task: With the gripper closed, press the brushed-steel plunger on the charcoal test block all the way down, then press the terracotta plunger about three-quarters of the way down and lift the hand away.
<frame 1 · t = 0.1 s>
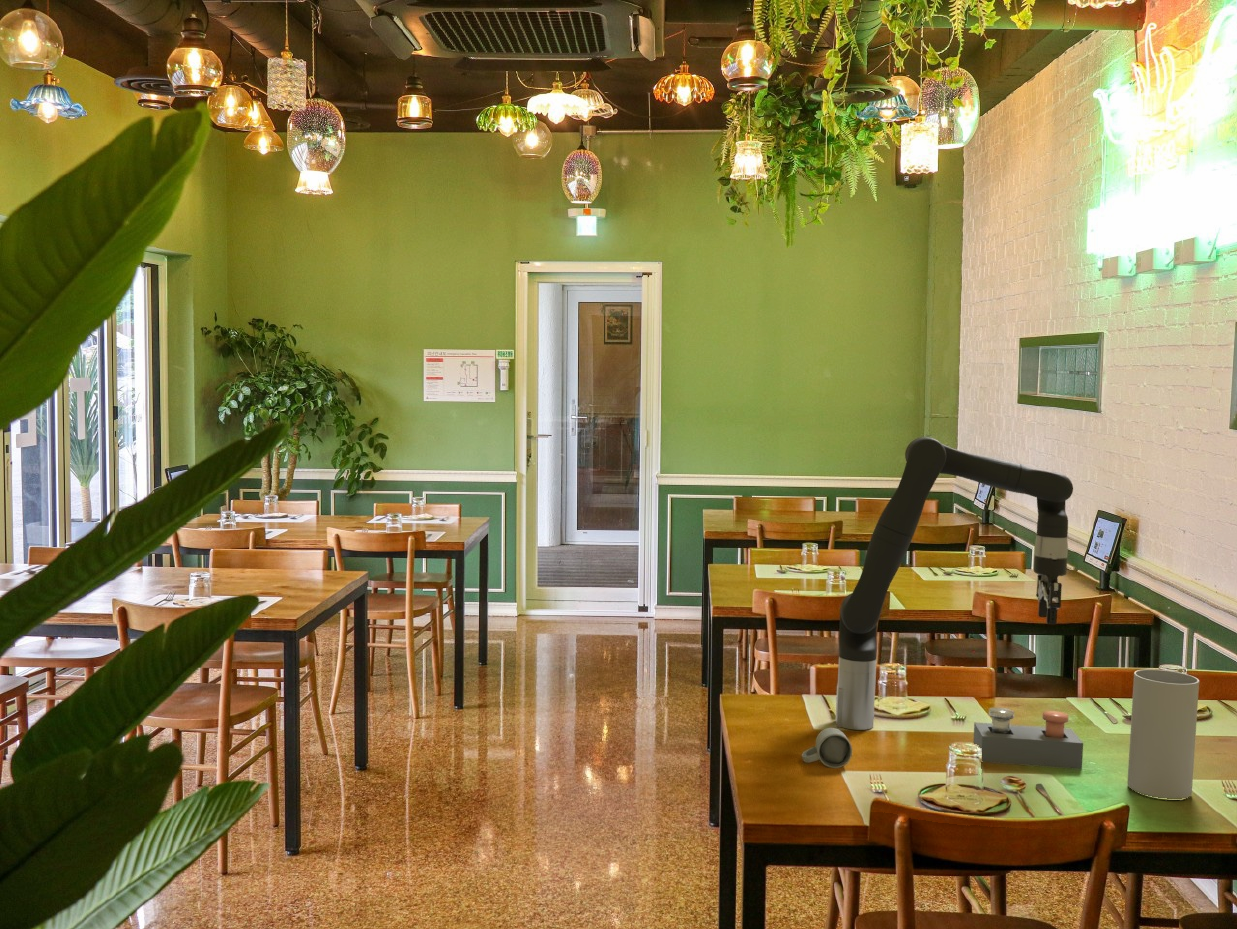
hand: (1047, 620, 279), 29 cm above the table, tool pointing down, fingers open, 8 cm apart
ceramic mug: (826, 763, 258), on the table
terracotta plunger: (1054, 727, 264), point 8 cm above the table, slide at 0.0 cm
steel plunger: (1000, 723, 266), point 8 cm above the table, slide at 0.0 cm
cylinder vase: (1159, 792, 245), on the table
plunger housing: (1026, 757, 266), on the table
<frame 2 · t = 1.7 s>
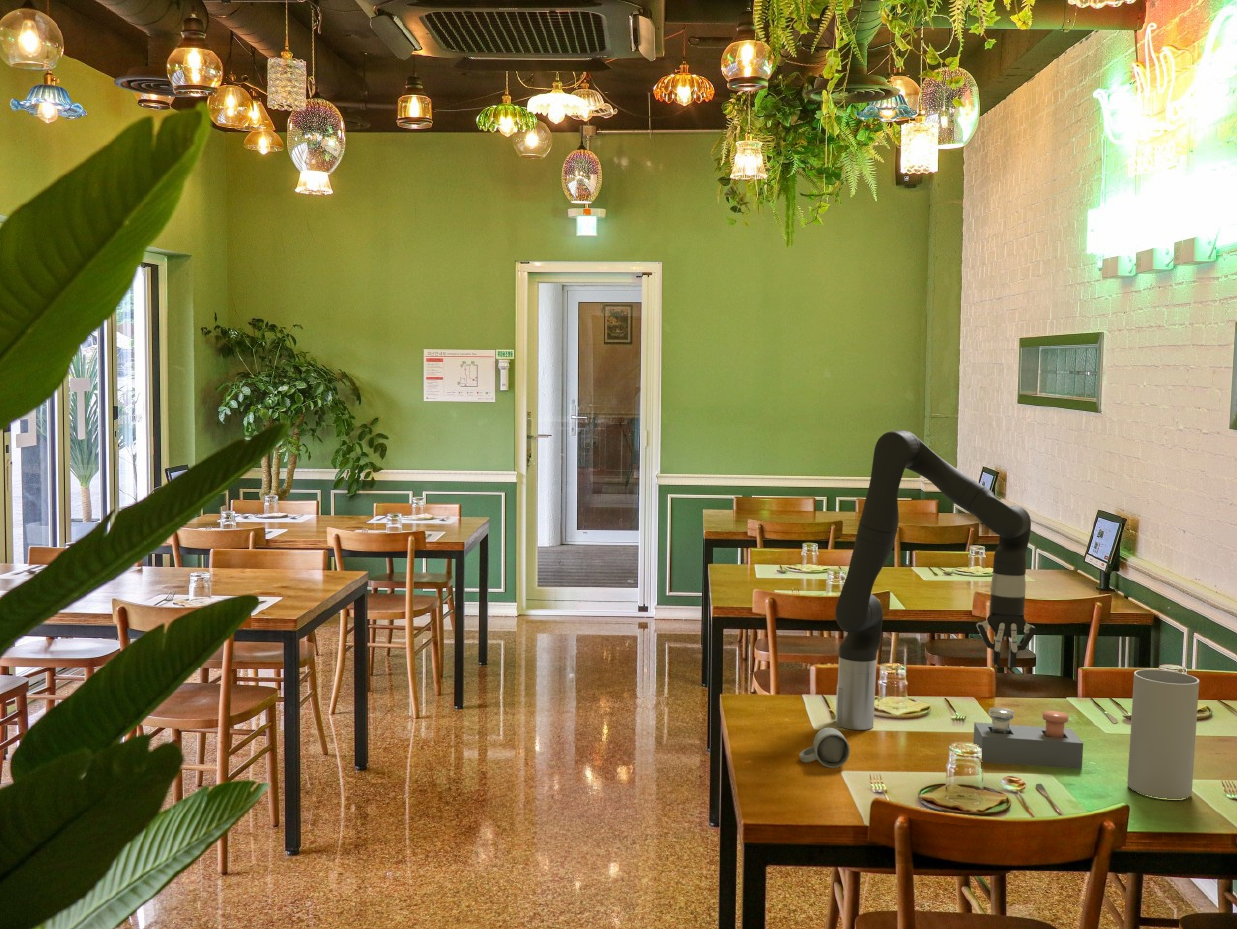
hand: (1003, 666, 265), 21 cm above the table, tool pointing down, fingers closed
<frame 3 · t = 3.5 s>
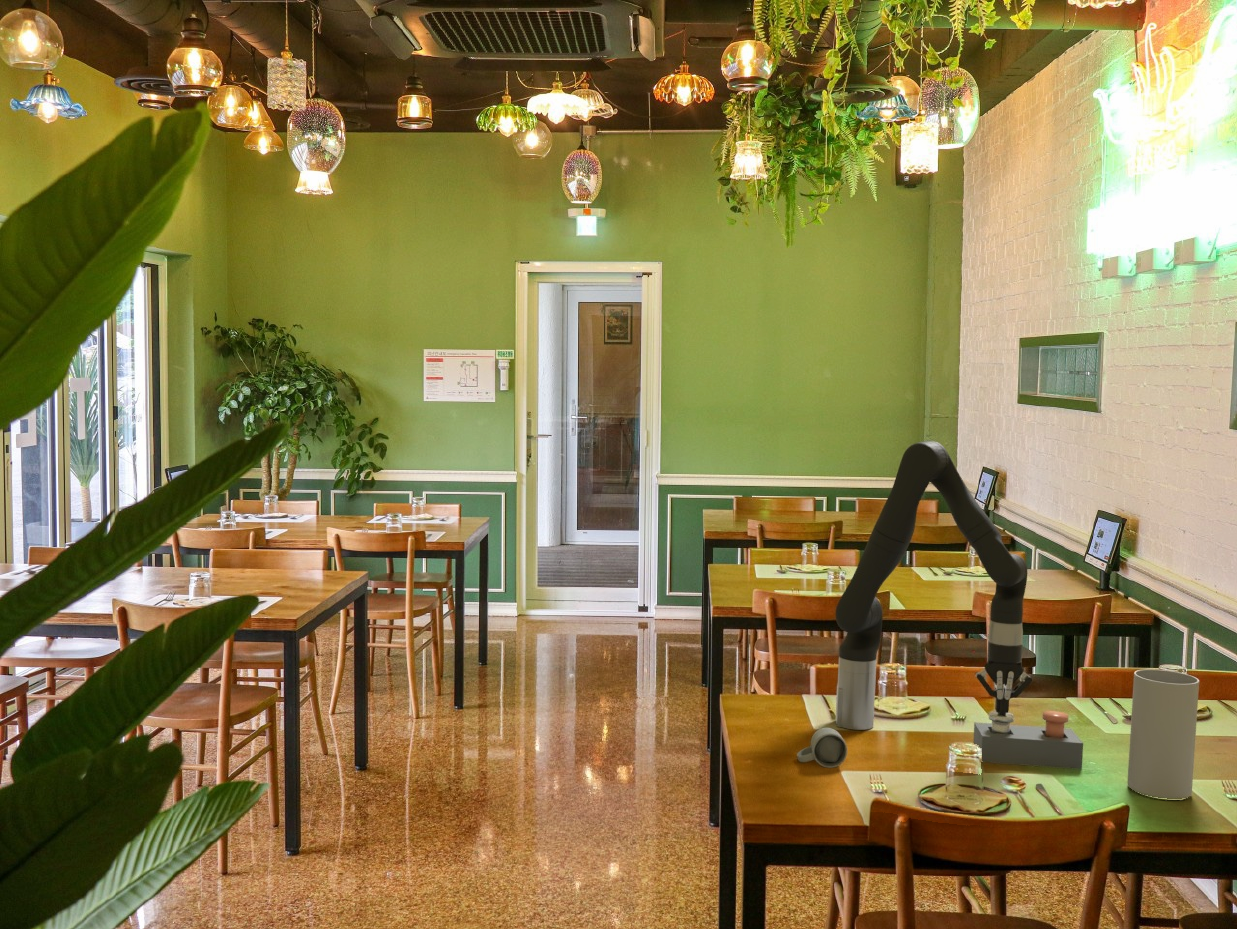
hand: (1001, 714, 266), 10 cm above the table, tool pointing down, fingers closed
steel plunger: (1000, 727, 266), point 7 cm above the table, slide at 0.9 cm, touching gripper
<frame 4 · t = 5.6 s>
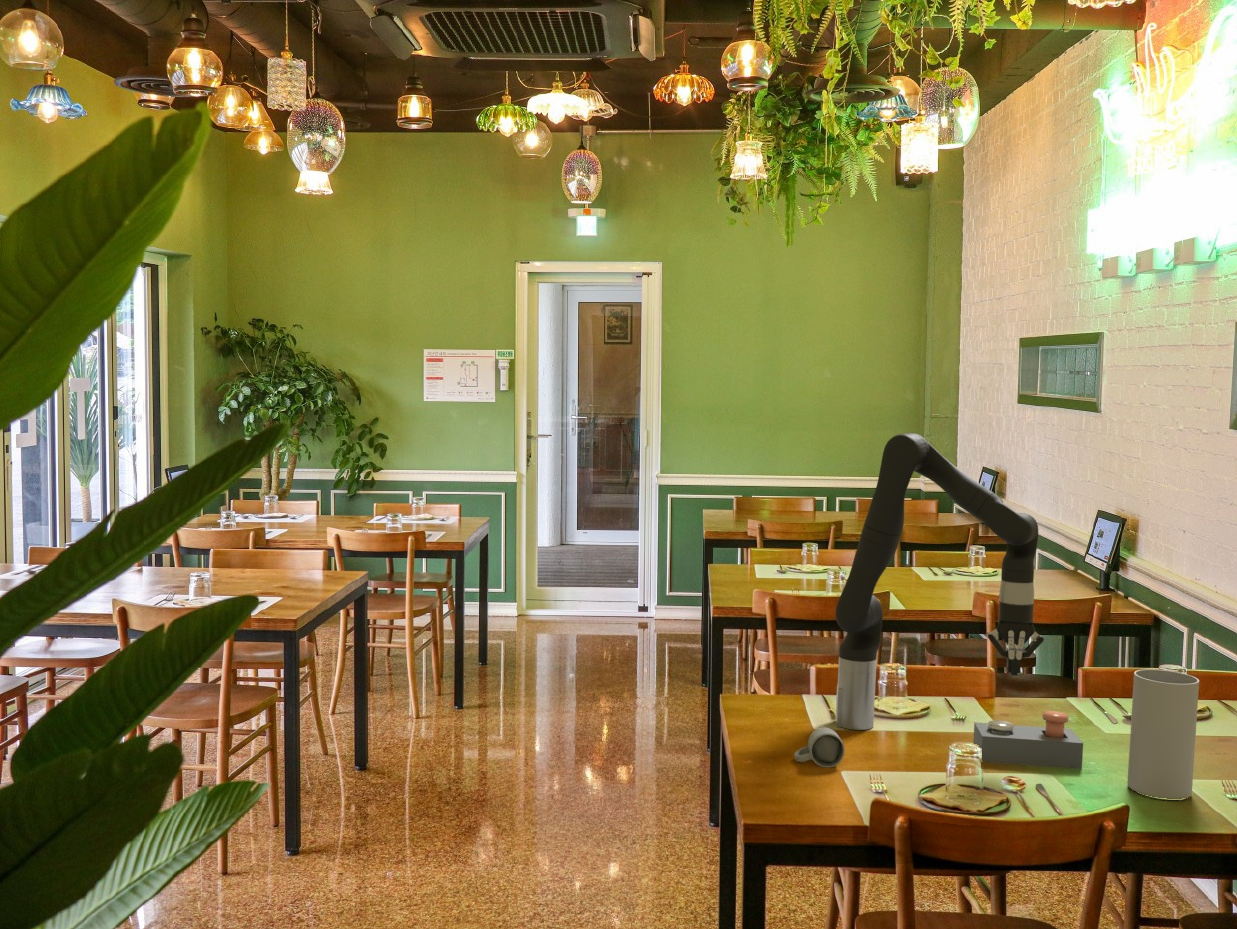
hand: (1013, 674, 264), 19 cm above the table, tool pointing down, fingers closed
steel plunger: (1000, 737, 266), point 5 cm above the table, slide at 3.1 cm
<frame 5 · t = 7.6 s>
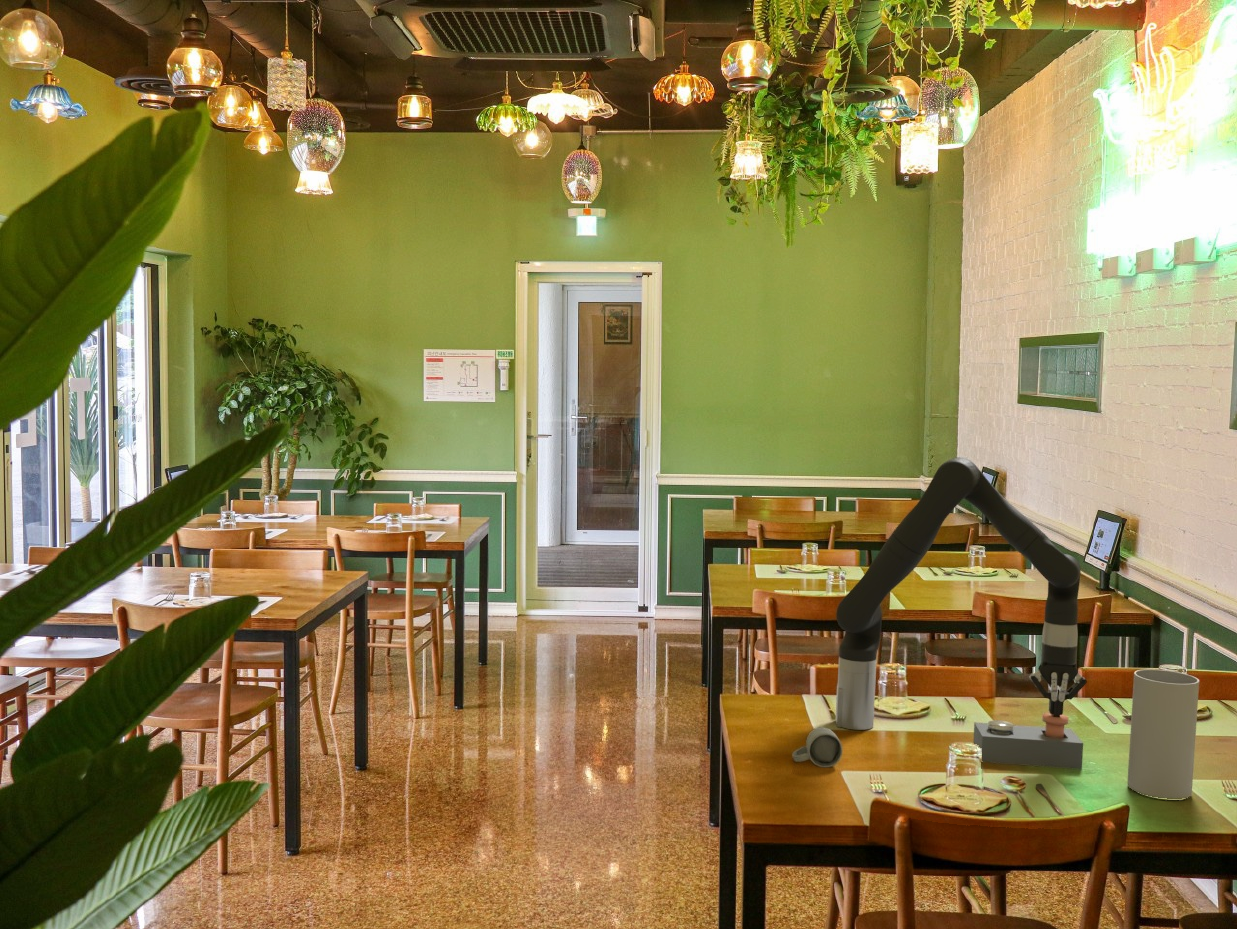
hand: (1055, 716, 264), 10 cm above the table, tool pointing down, fingers closed
terracotta plunger: (1054, 729, 264), point 7 cm above the table, slide at 0.5 cm, touching gripper
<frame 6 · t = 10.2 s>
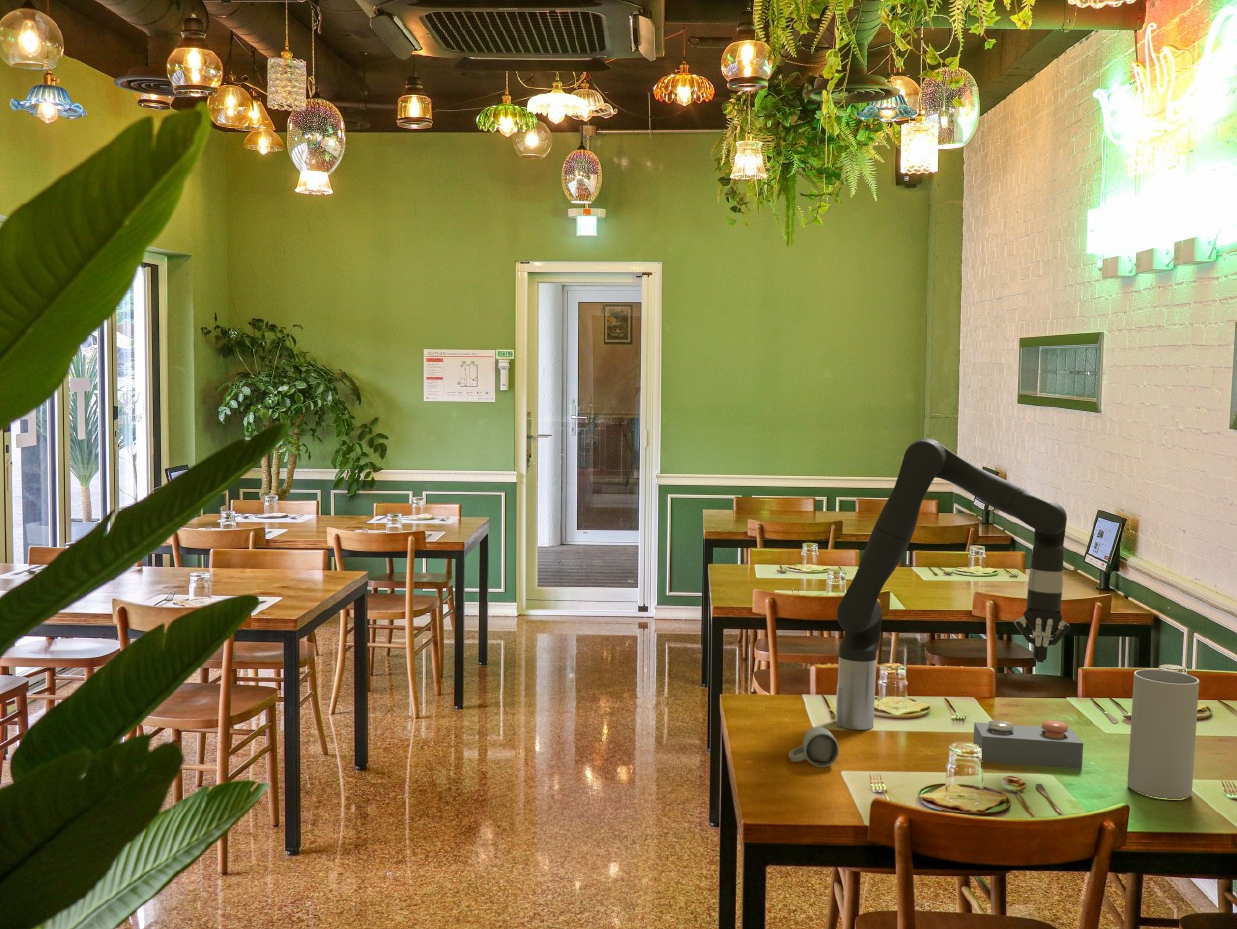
hand: (1039, 661, 268), 22 cm above the table, tool pointing down, fingers closed
terracotta plunger: (1054, 737, 264), point 5 cm above the table, slide at 2.3 cm
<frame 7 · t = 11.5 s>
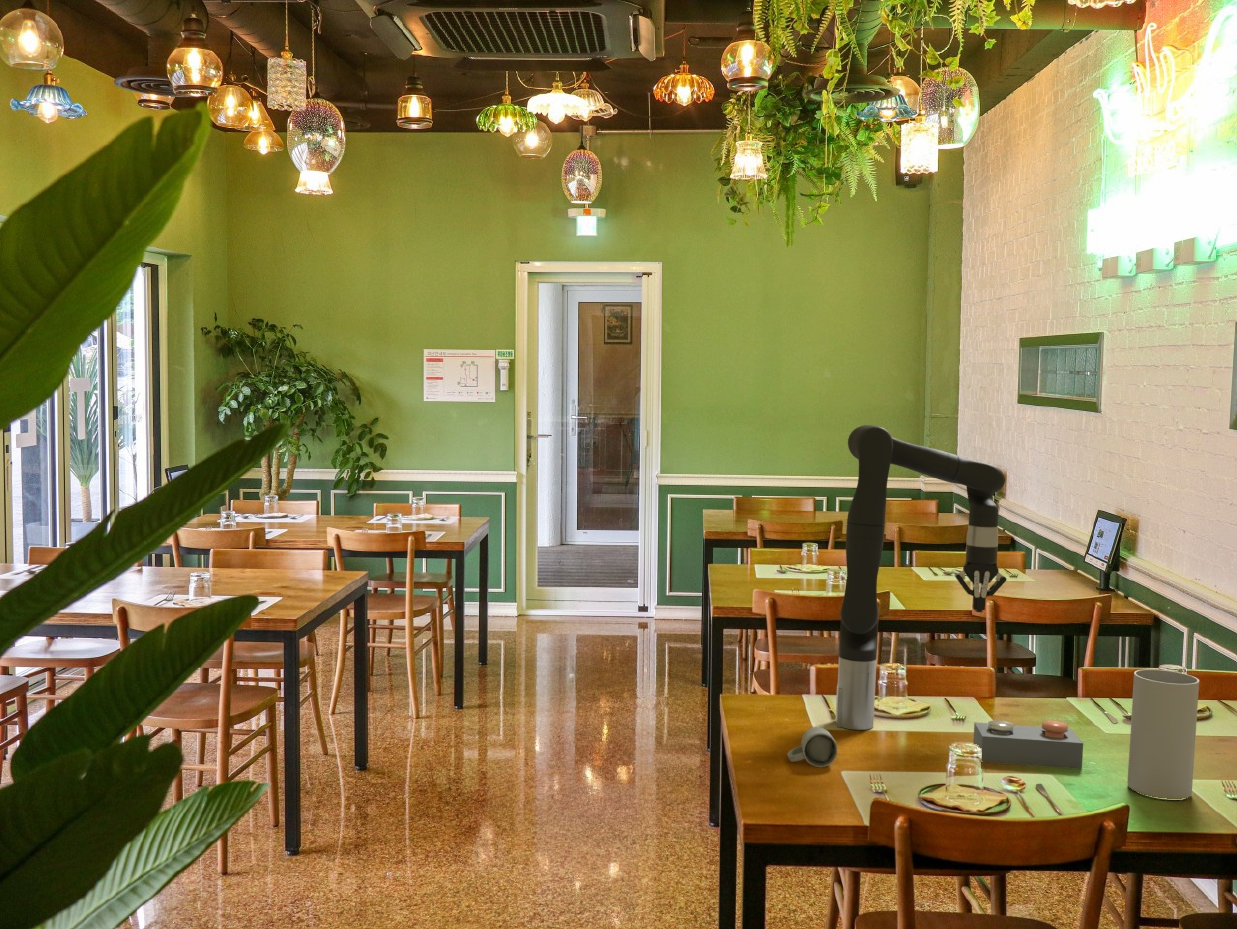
hand: (978, 611, 289), 29 cm above the table, tool pointing down, fingers closed
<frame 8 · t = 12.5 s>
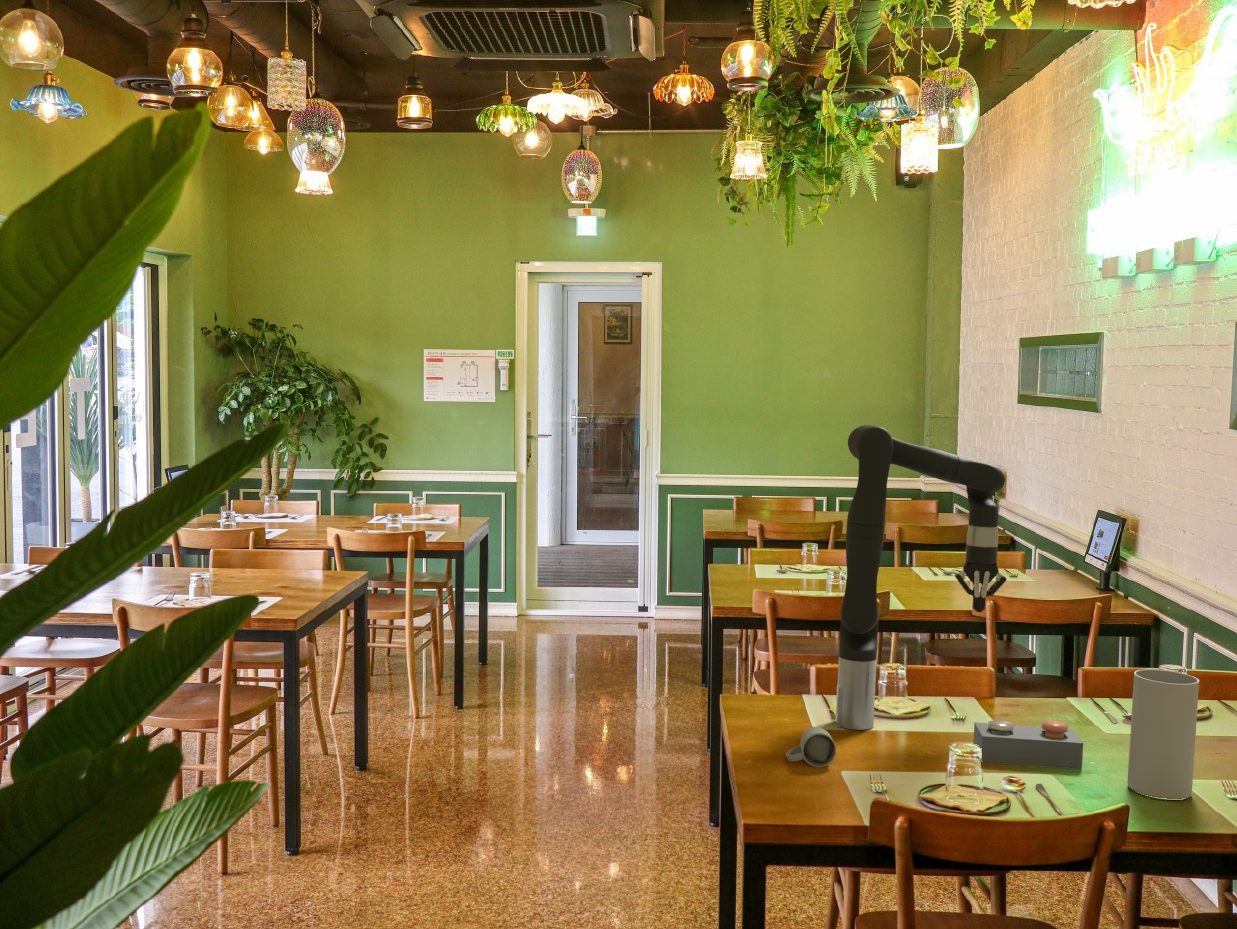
hand: (978, 611, 289), 29 cm above the table, tool pointing down, fingers closed
at the end: steel plunger slide at 3.1 cm; terracotta plunger slide at 2.3 cm; cylinder vase moved 0.2 cm from its start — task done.
